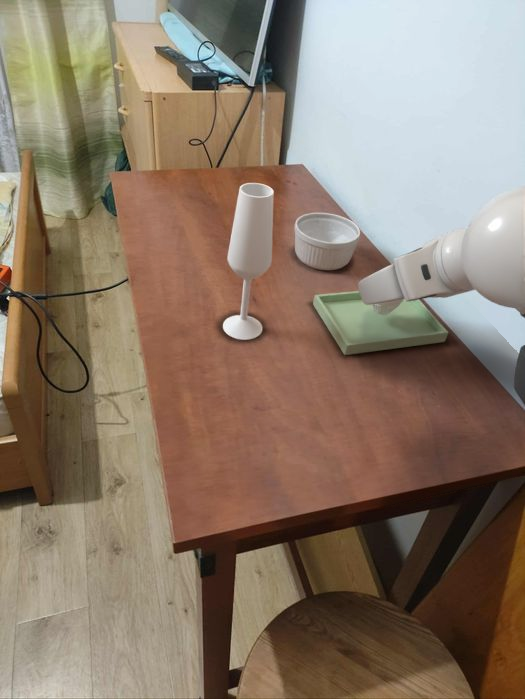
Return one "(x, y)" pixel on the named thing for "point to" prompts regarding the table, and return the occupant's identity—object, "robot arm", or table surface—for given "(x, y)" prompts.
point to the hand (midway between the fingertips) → (384, 287)
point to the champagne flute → (250, 251)
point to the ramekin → (325, 240)
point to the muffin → (386, 307)
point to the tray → (376, 324)
